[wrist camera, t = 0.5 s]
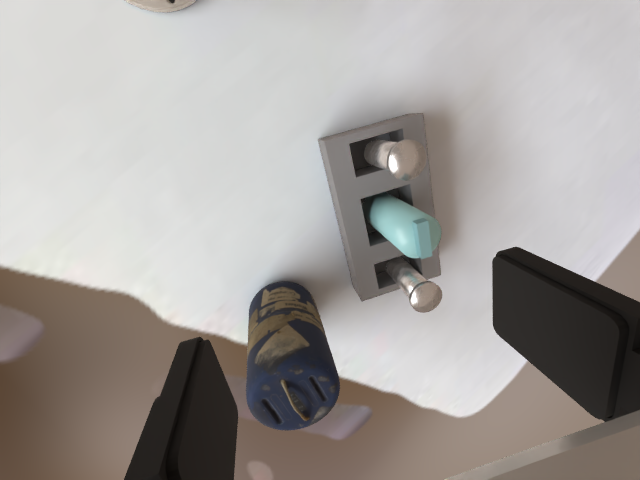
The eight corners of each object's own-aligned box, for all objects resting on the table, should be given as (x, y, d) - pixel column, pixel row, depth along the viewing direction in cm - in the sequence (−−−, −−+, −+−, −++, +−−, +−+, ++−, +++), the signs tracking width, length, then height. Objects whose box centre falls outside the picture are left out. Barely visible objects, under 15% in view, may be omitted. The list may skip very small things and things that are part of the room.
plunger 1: (358, 140, 37) (386, 146, 29) (388, 132, 37) (424, 135, 29) (364, 172, 38) (392, 185, 31) (393, 163, 39) (428, 174, 31)
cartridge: (358, 196, 43) (399, 225, 31) (391, 186, 43) (444, 211, 31) (365, 228, 44) (406, 268, 32) (396, 218, 45) (448, 254, 33)
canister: (308, 270, 45) (339, 357, 28) (318, 324, 49) (351, 429, 32) (241, 286, 44) (233, 385, 27) (257, 340, 47) (258, 457, 31)
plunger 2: (380, 258, 43) (409, 289, 35) (406, 250, 43) (440, 279, 36) (385, 282, 45) (413, 316, 37) (410, 274, 45) (443, 306, 37)
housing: (317, 139, 39) (324, 141, 35) (407, 114, 40) (423, 113, 36) (353, 287, 47) (362, 301, 44) (426, 263, 48) (441, 274, 45)
